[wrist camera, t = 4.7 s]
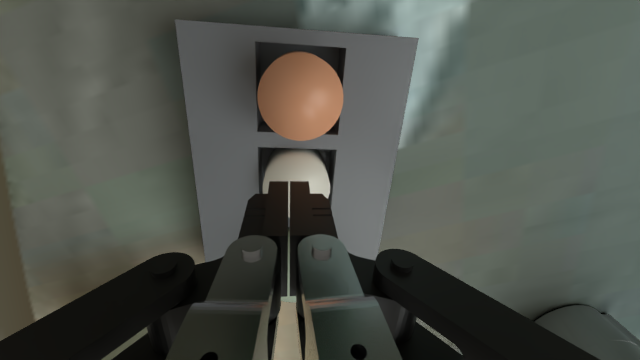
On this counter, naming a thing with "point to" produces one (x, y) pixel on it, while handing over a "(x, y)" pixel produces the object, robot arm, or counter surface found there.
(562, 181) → the counter surface
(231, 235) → the button panel
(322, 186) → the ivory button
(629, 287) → the counter surface
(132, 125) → the counter surface
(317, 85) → the terracotta button
